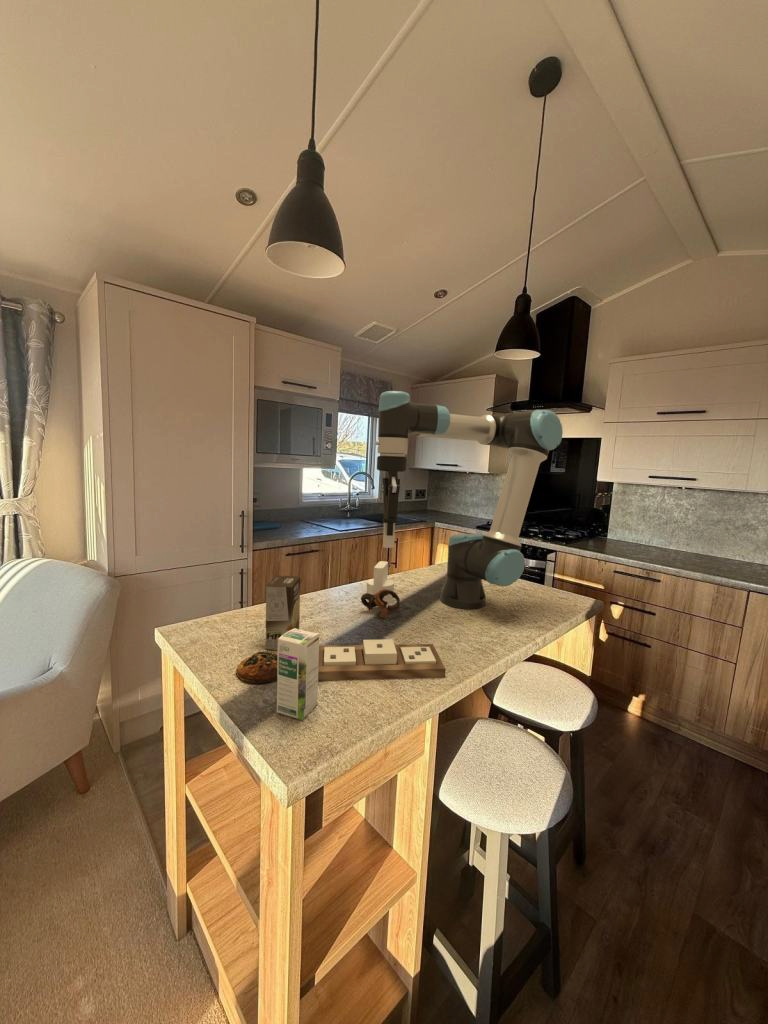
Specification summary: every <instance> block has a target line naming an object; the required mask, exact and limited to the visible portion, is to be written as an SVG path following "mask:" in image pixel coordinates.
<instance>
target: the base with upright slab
mask: <svg viewBox="0 0 768 1024" xmlns="http://www.w3.org/2000/svg"><path fill="white" fill-rule="evenodd" d="M388 573H389V561H383V560H381V561H380V560H379V561H378V562H377V563H376V564H375V566H374V567H373V578H370V579H368V580H367V581H366V593H369V594H372V595H374V594H376V593H378V592H379V591H380V590H384V589H387V590H391V591H393V592H395V590H394V589H395V581H393V580H391V579H389V578H388V576H389V575H388ZM383 600H384V601H386V602H388V604H391V603H393V602H394V598H393V597H392V595H390V594H388V595H387V596H384V598H383ZM366 601H367V602H369V600H367V599H366Z"/></svg>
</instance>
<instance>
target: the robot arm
mask: <svg viewBox="0 0 768 1024" xmlns="http://www.w3.org/2000/svg"><path fill="white" fill-rule="evenodd" d="M410 396H411V395H410V393H408V392H406V391H400V390H388V391H384V392H382V393H381V394H380V395H379V400H378V409H377V411H378V423H377V424H378V427H377V428H378V429H377V440H376V441H375V445H376V446H377V454H379V455H378V456H377V457H376V470H377V471H379V472H385V474H384V477H382V483H381V484H382V496H383V497H382V498H383V499H382V500H383V503H382V506H383V507H382V509H383V510H382V518H383V520H382V524H383V534H382V536H383V537H382V547H383V549H385V548H386V549H394V548H395V536H396V533H395V532H396V530H395V529H396V522H397V521H398V508H399V507H398V506H399V496H400V489H401V486H400V485H401V482H400V481H401V479H400V478H398V477H399V476H398V472H401V473H402V472H406V471H407V468H408V467H407V466H408V465H407V464H408V461H407V460H408V459H407V456H406V455H408V447H409V437H410V436H411V437H423V438H437V439H450V440H461V441H475V442H477V443H479V444H480V445H483V446H493V447H495V448H496V447H497V448H502V449H507V451H508V453H509V454H510V456H511V458H510V461H509V463H508V464H509V465H508V468H507V470H506V474H505V478H504V480H503V481H504V482H503V485H502V488H501V490H500V491H501V492H500V495H499V499H498V502H497V505H496V508H495V512H494V515H493V519H492V523H491V525H490V529H489V531H487V532H486V533H484V534H482V533H458V534H457V533H456V534H451V536H450V537H449V540H448V544H447V545H448V546H447V565H446V566H447V567H446V571H447V572H446V579H445V581H444V583H443V585H442V588H441V590H440V596H439V597H440V599H439V600H440V602H441V603H443V604H445V605H446V606H449V607H452V608H457V609H464V610H474V609H479V608H483V607H485V606H486V604H487V603H486V601H487V596H486V592H485V591H486V590H485V589H484V588H485V587H484V584H483V581H485V582H487V583H489V584H491V585H495V586H498V587H509V586H511V585H513V584H514V583H516V582H517V581H518V580H519V579H520V577H521V576H522V575H523V572H524V569H525V566H526V561H525V556H524V554H523V553H522V552H521V549H522V544H521V542H520V540H519V536H520V534H521V530H522V526H523V523H524V519H525V516H526V512H527V508H528V506H529V502H530V499H531V495H532V492H533V488H534V485H535V482H536V478H537V476H538V471H539V467H540V465H541V463H542V462H544V461H546V460H547V459H548V456H549V453H550V451H552V450H555V449H556V448H557V447H559V446H560V445H561V443H562V439H563V425H562V423H561V420H560V418H559V416H558V415H557V414H556V413H555V412H554V411H552V410H549V409H536V410H527V411H526V410H525V411H519V412H518V411H517V412H509V413H508V412H507V413H501V414H483V415H481V416H474V415H466V414H465V415H464V414H457V413H455V414H454V413H450V411H449V409H448V407H446V406H443V405H439V404H430V403H427V404H426V403H420V402H419V403H416V402H413V401H411V397H410Z"/></svg>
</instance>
